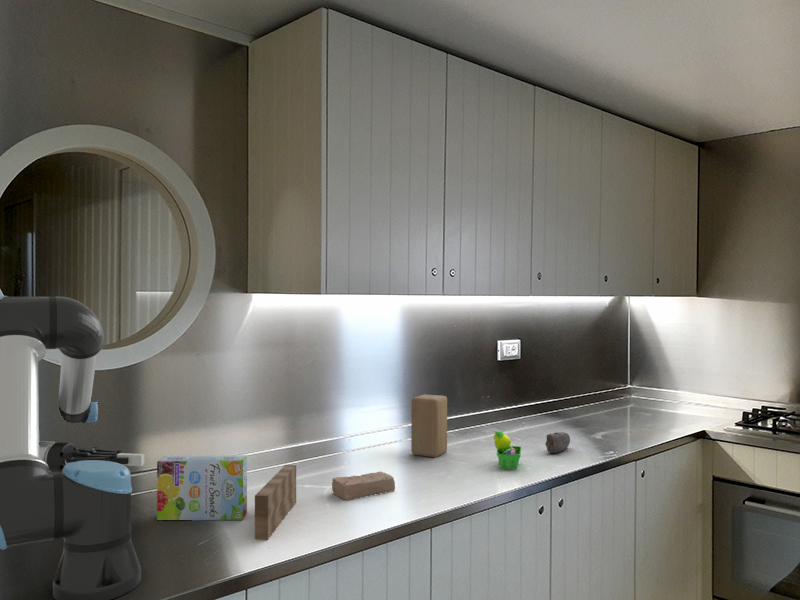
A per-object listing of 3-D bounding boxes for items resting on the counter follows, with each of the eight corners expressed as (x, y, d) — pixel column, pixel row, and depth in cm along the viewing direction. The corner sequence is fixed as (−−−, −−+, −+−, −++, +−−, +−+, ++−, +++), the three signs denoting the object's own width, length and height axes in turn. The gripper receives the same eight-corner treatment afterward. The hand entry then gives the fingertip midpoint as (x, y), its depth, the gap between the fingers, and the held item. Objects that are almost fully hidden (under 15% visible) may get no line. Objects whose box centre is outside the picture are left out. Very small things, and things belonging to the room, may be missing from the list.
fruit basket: (520, 470, 200) (520, 435, 200) (492, 469, 202) (492, 434, 202) (521, 461, 211) (521, 427, 211) (494, 460, 213) (494, 426, 213)
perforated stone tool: (562, 446, 233) (562, 427, 233) (575, 448, 229) (575, 429, 229) (541, 453, 222) (541, 434, 222) (554, 456, 219) (554, 436, 219)
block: (410, 455, 220) (410, 397, 219) (422, 448, 228) (422, 393, 228) (436, 458, 215) (436, 399, 215) (448, 452, 224) (448, 395, 224)
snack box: (247, 513, 161) (247, 454, 161) (243, 521, 155) (243, 459, 155) (163, 514, 160) (163, 454, 160) (155, 522, 154) (155, 460, 154)
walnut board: (267, 539, 143) (267, 495, 143) (254, 539, 143) (254, 495, 143) (296, 502, 169) (296, 465, 169) (285, 502, 169) (285, 464, 169)
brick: (381, 484, 186) (381, 468, 186) (396, 492, 179) (396, 475, 179) (330, 494, 177) (330, 477, 177) (344, 502, 170) (344, 485, 170)
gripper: (69, 464, 168) (154, 467, 166) (37, 479, 155) (129, 482, 153) (69, 436, 168) (154, 439, 166) (37, 448, 155) (129, 451, 153)
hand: (142, 460), depth 159 cm, fingers closed
